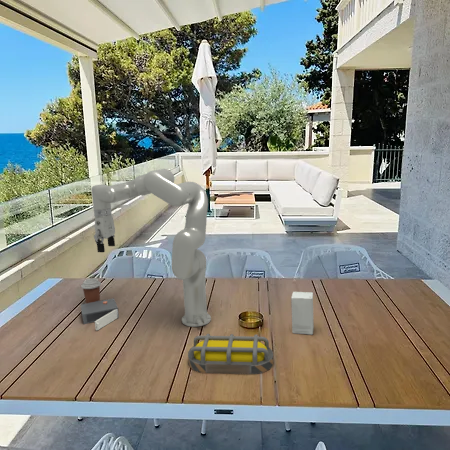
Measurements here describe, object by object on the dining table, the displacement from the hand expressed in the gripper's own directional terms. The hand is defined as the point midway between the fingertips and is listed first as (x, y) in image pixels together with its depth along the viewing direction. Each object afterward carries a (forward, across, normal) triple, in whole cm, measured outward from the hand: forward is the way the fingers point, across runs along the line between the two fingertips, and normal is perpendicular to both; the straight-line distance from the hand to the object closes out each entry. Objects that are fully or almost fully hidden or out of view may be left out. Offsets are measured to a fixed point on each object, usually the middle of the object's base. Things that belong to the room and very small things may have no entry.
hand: (106, 249), depth 183 cm
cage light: (+29, -37, -64) cm, 80 cm away
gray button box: (+29, -8, +2) cm, 30 cm away
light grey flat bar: (+29, -16, -6) cm, 34 cm away
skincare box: (+29, -11, -89) cm, 94 cm away
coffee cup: (+30, +3, +12) cm, 32 cm away
